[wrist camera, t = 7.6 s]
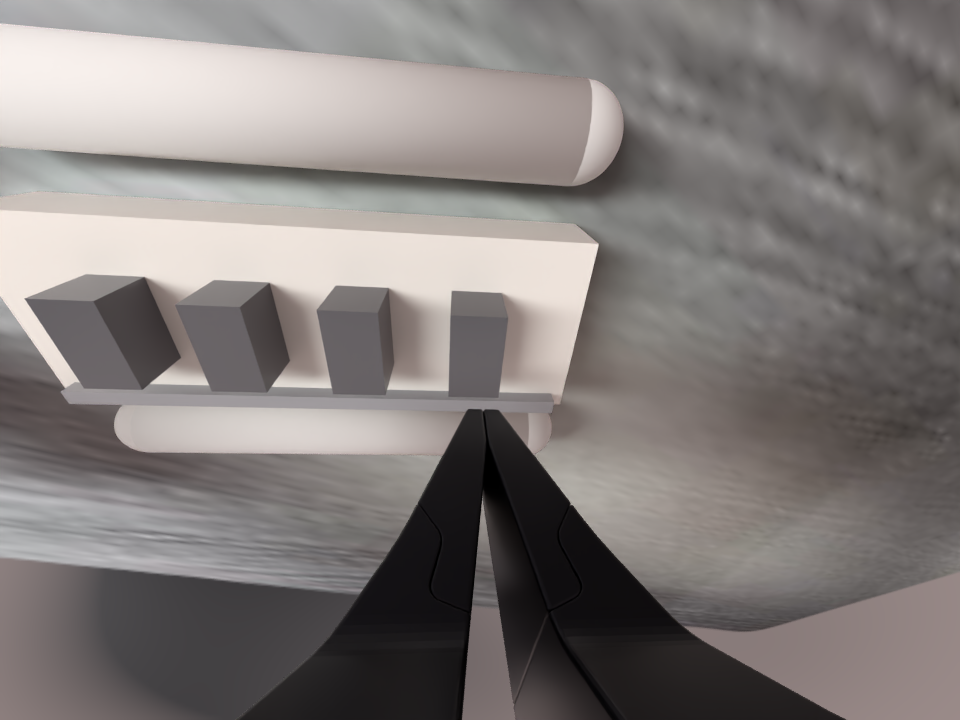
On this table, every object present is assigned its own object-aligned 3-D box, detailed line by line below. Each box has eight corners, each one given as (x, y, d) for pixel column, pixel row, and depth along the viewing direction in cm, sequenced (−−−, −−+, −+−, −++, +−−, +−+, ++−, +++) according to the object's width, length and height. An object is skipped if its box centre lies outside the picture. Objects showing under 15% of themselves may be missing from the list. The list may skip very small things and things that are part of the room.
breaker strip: (127, 354, 17) (17, 429, 13) (37, 191, 13) (-162, 221, 9) (546, 366, 18) (571, 437, 14) (574, 224, 15) (621, 263, 10)
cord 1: (159, 421, 19) (114, 465, 17) (134, 376, 18) (81, 417, 15) (540, 428, 21) (552, 468, 19) (549, 387, 19) (563, 425, 17)
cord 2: (3, 141, 12) (-113, 145, 10) (-63, 25, 11) (-221, -6, 8) (593, 183, 14) (623, 195, 12) (614, 87, 12) (654, 77, 10)
